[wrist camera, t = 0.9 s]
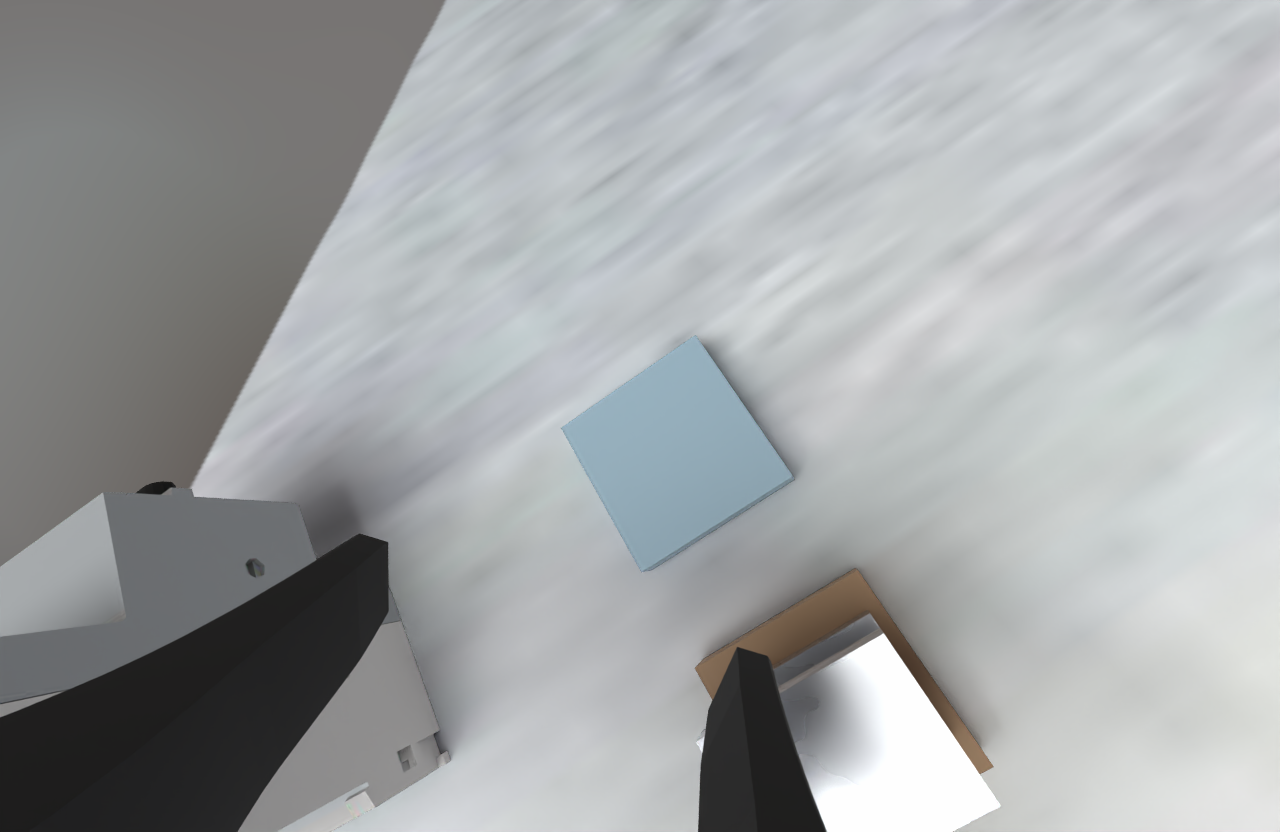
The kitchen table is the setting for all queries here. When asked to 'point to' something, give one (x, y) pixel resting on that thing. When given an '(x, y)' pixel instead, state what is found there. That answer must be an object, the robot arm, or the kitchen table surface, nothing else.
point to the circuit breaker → (191, 597)
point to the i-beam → (874, 738)
